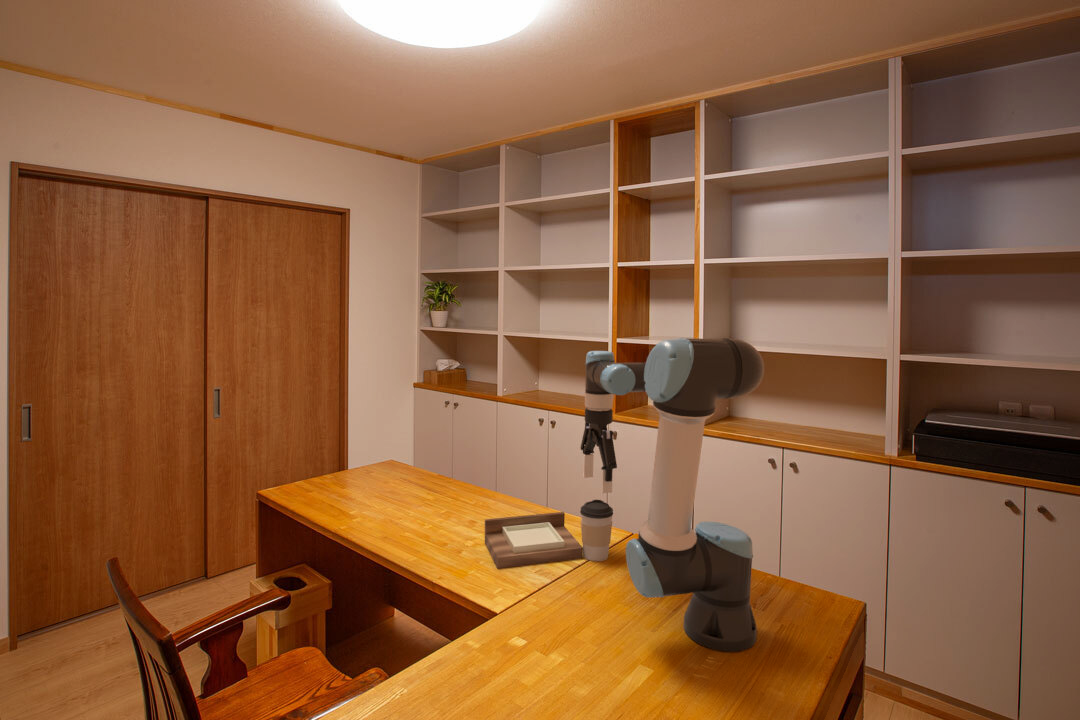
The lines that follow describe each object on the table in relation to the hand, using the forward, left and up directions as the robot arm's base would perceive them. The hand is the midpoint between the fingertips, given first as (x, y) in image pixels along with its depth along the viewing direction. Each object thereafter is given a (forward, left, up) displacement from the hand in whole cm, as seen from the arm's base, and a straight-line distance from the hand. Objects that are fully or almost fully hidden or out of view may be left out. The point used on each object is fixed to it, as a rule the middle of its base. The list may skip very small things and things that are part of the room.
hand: (597, 484), depth 164 cm
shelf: (+8, +16, -20) cm, 27 cm away
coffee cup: (0, 0, -21) cm, 21 cm away
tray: (+8, +16, -17) cm, 25 cm away
